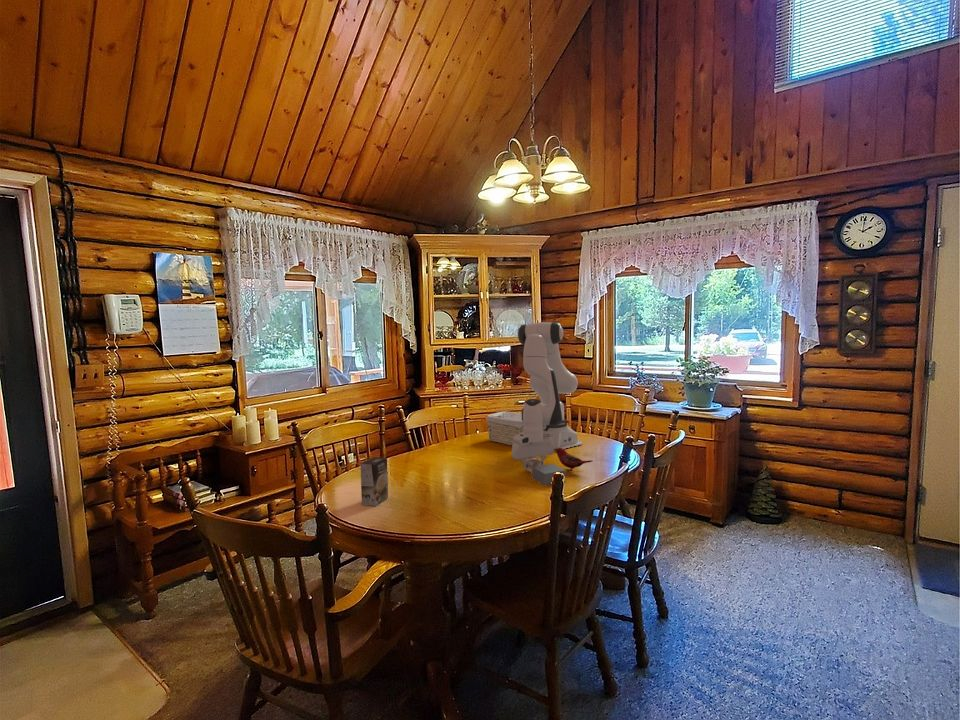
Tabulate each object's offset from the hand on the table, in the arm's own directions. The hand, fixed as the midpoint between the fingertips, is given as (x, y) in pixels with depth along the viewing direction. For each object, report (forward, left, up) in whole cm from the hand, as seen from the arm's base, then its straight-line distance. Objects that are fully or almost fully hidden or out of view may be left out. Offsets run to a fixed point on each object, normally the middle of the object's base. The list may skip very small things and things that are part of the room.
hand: (533, 466), depth 227 cm
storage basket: (-15, -48, -2) cm, 51 cm away
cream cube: (0, 0, -2) cm, 2 cm away
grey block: (+1, +14, -2) cm, 14 cm away
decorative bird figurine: (-15, +10, -2) cm, 18 cm away
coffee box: (+72, +3, -2) cm, 72 cm away
